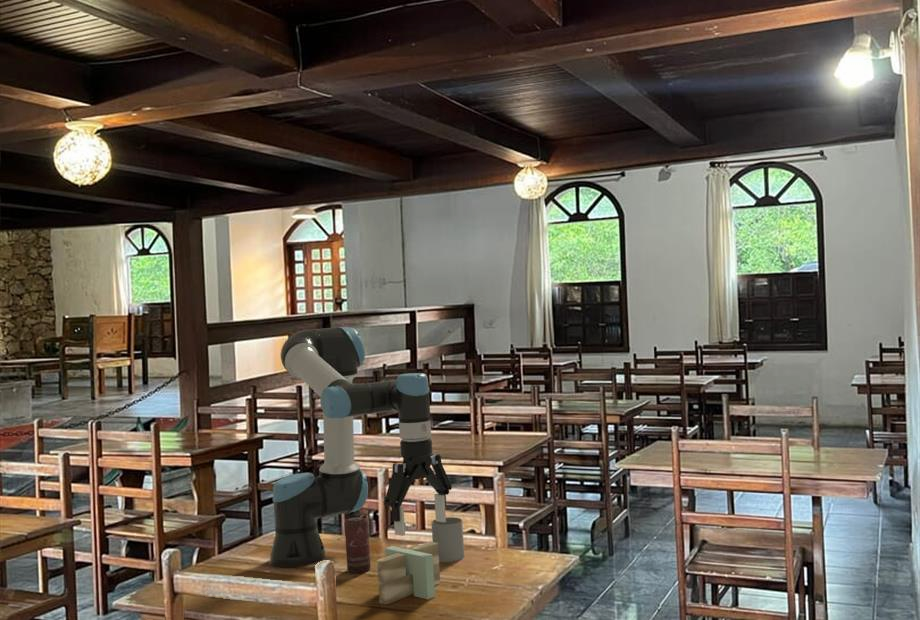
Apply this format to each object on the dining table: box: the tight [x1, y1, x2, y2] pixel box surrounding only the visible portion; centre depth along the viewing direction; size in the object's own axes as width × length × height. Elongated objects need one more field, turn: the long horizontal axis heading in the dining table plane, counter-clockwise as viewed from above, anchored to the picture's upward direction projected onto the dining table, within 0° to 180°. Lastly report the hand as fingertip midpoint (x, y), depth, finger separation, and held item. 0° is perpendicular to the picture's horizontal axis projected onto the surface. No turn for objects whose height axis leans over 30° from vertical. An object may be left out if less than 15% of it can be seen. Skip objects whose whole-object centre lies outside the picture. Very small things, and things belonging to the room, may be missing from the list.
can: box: [344, 514, 371, 575], centre depth 225 cm, size 6×6×14 cm
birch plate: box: [376, 541, 441, 605], centre depth 204 cm, size 2×18×10 cm, turn 137°
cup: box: [431, 516, 465, 563], centre depth 231 cm, size 8×8×10 cm
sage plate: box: [384, 545, 436, 600], centre depth 204 cm, size 14×2×10 cm, turn 47°
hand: (421, 528), depth 201 cm, fingers open, 13 cm apart
